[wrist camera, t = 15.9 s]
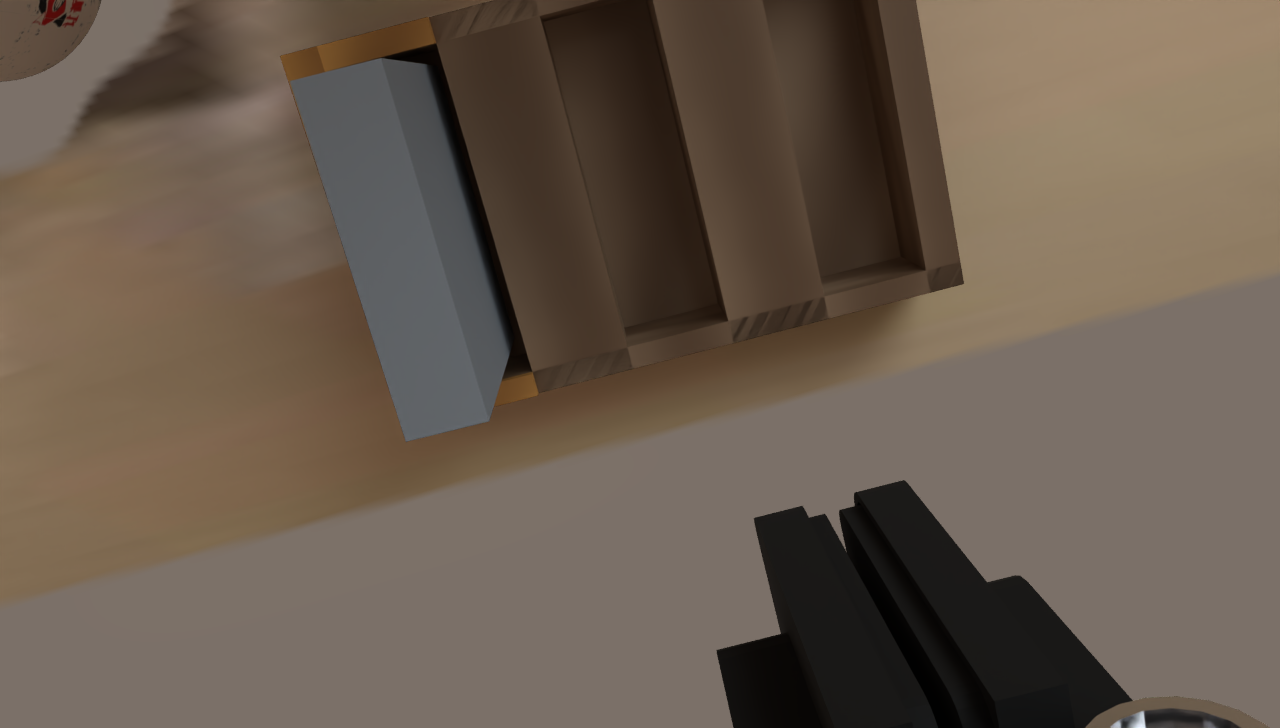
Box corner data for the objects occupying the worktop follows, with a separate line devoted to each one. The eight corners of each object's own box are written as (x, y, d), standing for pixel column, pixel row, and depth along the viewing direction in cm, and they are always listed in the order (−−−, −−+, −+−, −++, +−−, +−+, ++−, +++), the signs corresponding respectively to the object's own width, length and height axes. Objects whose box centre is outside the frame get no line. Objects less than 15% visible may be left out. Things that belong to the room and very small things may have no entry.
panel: (452, 353, 38) (406, 441, 29) (370, 82, 36) (289, 80, 26) (514, 337, 38) (489, 421, 29) (437, 65, 36) (380, 57, 26)
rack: (425, 390, 40) (404, 430, 36) (318, 60, 37) (279, 56, 32) (923, 262, 40) (967, 285, 35) (861, -84, 37) (900, -109, 32)
